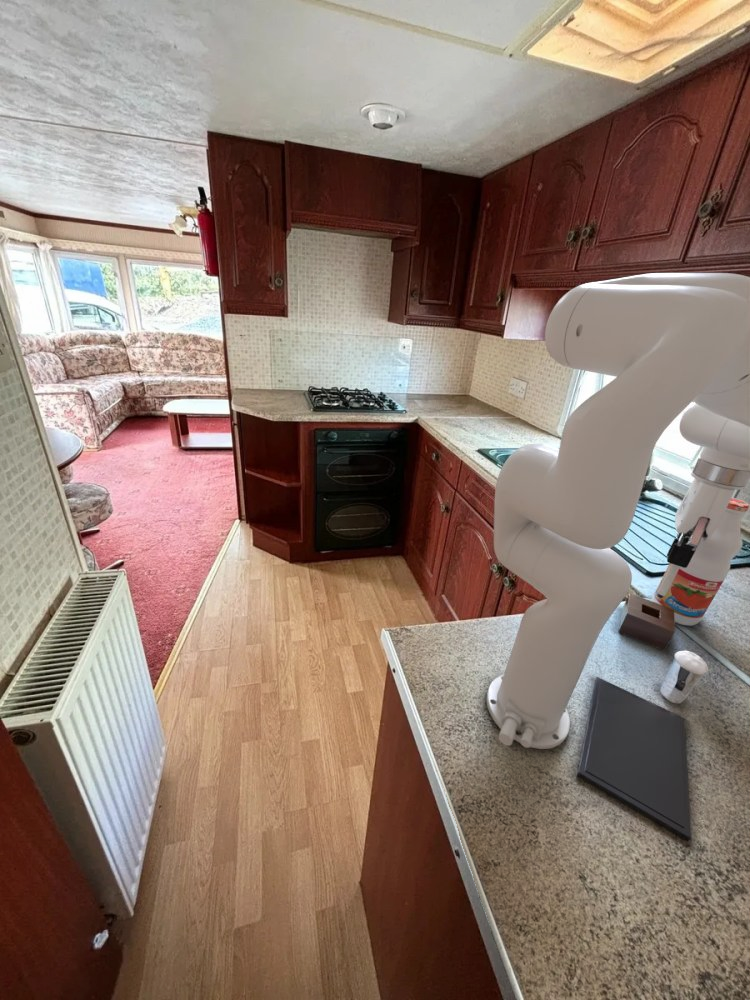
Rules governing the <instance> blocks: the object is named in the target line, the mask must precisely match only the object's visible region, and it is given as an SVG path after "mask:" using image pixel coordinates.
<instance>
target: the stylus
mask: <svg viewBox="0 0 750 1000" xmlns="http://www.w3.org/2000/svg"><path fill="white" fill-rule="evenodd" d="M686 537H688V536H686ZM686 537H685V538H686ZM688 538H690V537H688ZM679 568H680V566H677V565H674V564H671V566H670V568H669V570H668V572H667V574H666V576H665V578H664V580H663V582H662V584H661V586H660V588H659V590H658V595H657V596H658V597H659V598H663V596H665V595H666V594H667V592H668V590H669V588H670V586H671V584H672V582H673V580H674V578H675V576H676V574H677V572H678V570H679Z"/></svg>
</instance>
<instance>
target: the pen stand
mask: <svg viewBox="0 0 750 1000" xmlns="http://www.w3.org/2000/svg"><path fill="white" fill-rule="evenodd" d="M675 623H676V622H675V621H674V609H671V608H668V607H666V606H663V605H660V604H658V603H655V602H652V600H649V599H647V598H644V597H641V596H639V595H636V594H633V593H629V594H628V596H627V598H626V600H625V602H624V605H623V606H622V609H621V613H620V618H619V624H618V633H620V634H623V635H624V636H627V637H629V638H632V639H635V640H637V641H640V642H641V643H645V644H646V645H649V646H651V647H653V648H656V649H658V650H661V651H663V652H664V651H666V649H667V648H668V646H669V645H670V642H671V640H672V638H673V637H674V635H675V633H676V627H675V626H676V624H675Z"/></svg>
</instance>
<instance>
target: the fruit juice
mask: <svg viewBox="0 0 750 1000" xmlns="http://www.w3.org/2000/svg"><path fill="white" fill-rule="evenodd" d="M749 507H750V504H748V503H747V502H746V501H744V500H741V499H739V498H736V497H733V496H732V498H731V500H730V502H729V504H728V506H727V508H726V510H725V512H724V514H723V516H722V518H721V520H720V522H719V524H718V526H717V528H716V530H715V532H714V533H713V535H712V536H711V538H710V539H709V540H703V537H702V539H701V541H700V543H699V545H698V546H697V548H696V551H695V553H694V555H693V557H692V559H691V561H690V563H689V564H688V566H687V567H686V568H683V567H680V568H679V570H678V572H677V574H676V576H675V578H674V580H673V582H672V584H671V586H670V588H669V590H668V592H667V594H666V595H665V596H663V598H659V597H658V596H657V595H658V590H659V588H660V586H661V584H662V582H663V580H664V578H665V576H666V574H667V572H668V570H669V568H670V566H671V563H668V566H667V568H666V569H665V572H664V574H663V576H662V578H661V580H660V581H659V584H658V586H657V587H656V590H655V592H654V593H653V596H652V598H651V601H652V602H655V603H658V604H660V605H663V606H666V607H668V608H671V609H674V621H675V623H676V624H679V625H683V626H695V625H698V624H699V623H700V622H701V621H702V619H703V617H704V615H705V614H706V612H707V610H708V609H709V607H710V606H711V604H712V602H713V600H714V598H715V596H716V595H717V593H718V591H719V590H720V588H721V586H722V585H723V583H724V581H725V580H726V578H727V576H728V574H729V572H730V571H731V570H730V569H731V562H732V560H733V559H734V558H735V557H736V556H737V555H739V553H740V552H741V550H742V547H743V537H742V534H741V527H742V518H743V515H744V514H746V513H747V511H748V510H749Z"/></svg>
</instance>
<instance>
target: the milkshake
mask: <svg viewBox="0 0 750 1000" xmlns="http://www.w3.org/2000/svg"><path fill="white" fill-rule="evenodd" d="M716 669H717V668H716V667H715V668H712V669H710V670H709V667H708V665H707V663H706V661H705V660H704V659H703V658H702V657H701V656H699V655H698V654H696V653H695V652H692V651H690V650H679V651H677V652H675V653H674V656H673V658H672V661H671V664H670V666H669V668H668V671H667V673H666V675H665V678H664V680H663V682H662V684H661V687H660V693H661V696H663V698H665V699H666V701H669V702H670V703H672V704H681V703H683V701H684V700H685V699H686V698H687V696H688V695H689V694H690V692H691V691H692V690H693V689H694V687H696V685H697V684H698V683H699V682H701V680H702V679H703V678H704V677H705V675H706V674H707V673H709V672H712V671H714V670H716Z"/></svg>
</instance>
